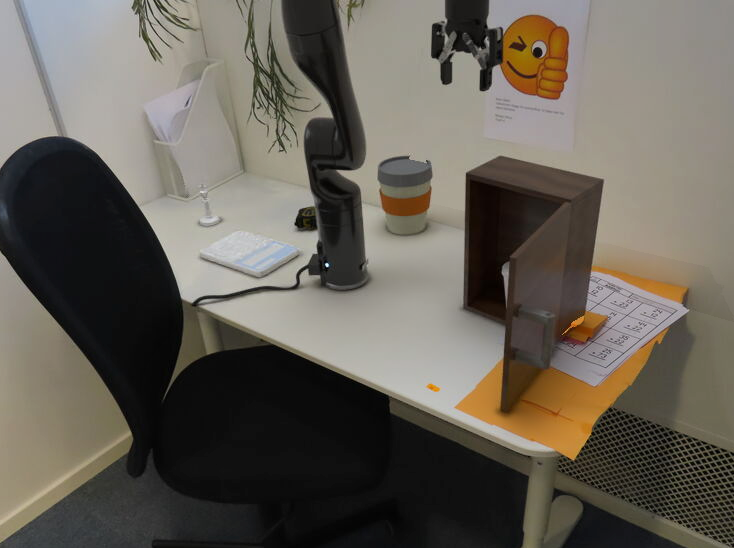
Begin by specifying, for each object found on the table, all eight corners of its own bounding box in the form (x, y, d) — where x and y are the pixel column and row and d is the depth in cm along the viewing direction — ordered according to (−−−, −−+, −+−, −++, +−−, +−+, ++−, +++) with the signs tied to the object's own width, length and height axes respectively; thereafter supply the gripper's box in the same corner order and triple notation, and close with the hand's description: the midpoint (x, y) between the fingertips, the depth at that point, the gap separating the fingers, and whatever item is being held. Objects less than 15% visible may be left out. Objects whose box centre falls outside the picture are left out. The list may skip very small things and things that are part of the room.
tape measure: (300, 219, 170) (298, 205, 168) (327, 219, 169) (325, 204, 167) (295, 231, 165) (293, 217, 163) (323, 231, 164) (321, 216, 162)
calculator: (240, 235, 165) (239, 227, 164) (302, 254, 155) (301, 246, 154) (198, 257, 157) (196, 249, 156) (260, 279, 146) (259, 271, 145)
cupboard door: (584, 356, 117) (606, 209, 101) (537, 424, 104) (554, 267, 88) (549, 346, 120) (565, 201, 104) (500, 411, 107) (509, 256, 91)
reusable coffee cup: (424, 240, 156) (423, 177, 148) (372, 235, 160) (368, 173, 151) (439, 217, 166) (439, 156, 157) (390, 213, 170) (387, 153, 161)
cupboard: (554, 345, 120) (571, 199, 104) (463, 308, 132) (465, 172, 116) (584, 321, 125) (604, 179, 110) (493, 288, 137) (500, 155, 121)
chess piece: (203, 217, 175) (195, 179, 169) (222, 217, 174) (214, 179, 169) (197, 225, 171) (188, 187, 165) (216, 225, 170) (208, 187, 165)
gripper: (420, -12, 118) (422, 87, 127) (488, -7, 110) (485, 97, 119) (447, -18, 122) (447, 77, 132) (515, -15, 114) (510, 87, 123)
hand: (465, 87), depth 125 cm, fingers open, 8 cm apart
